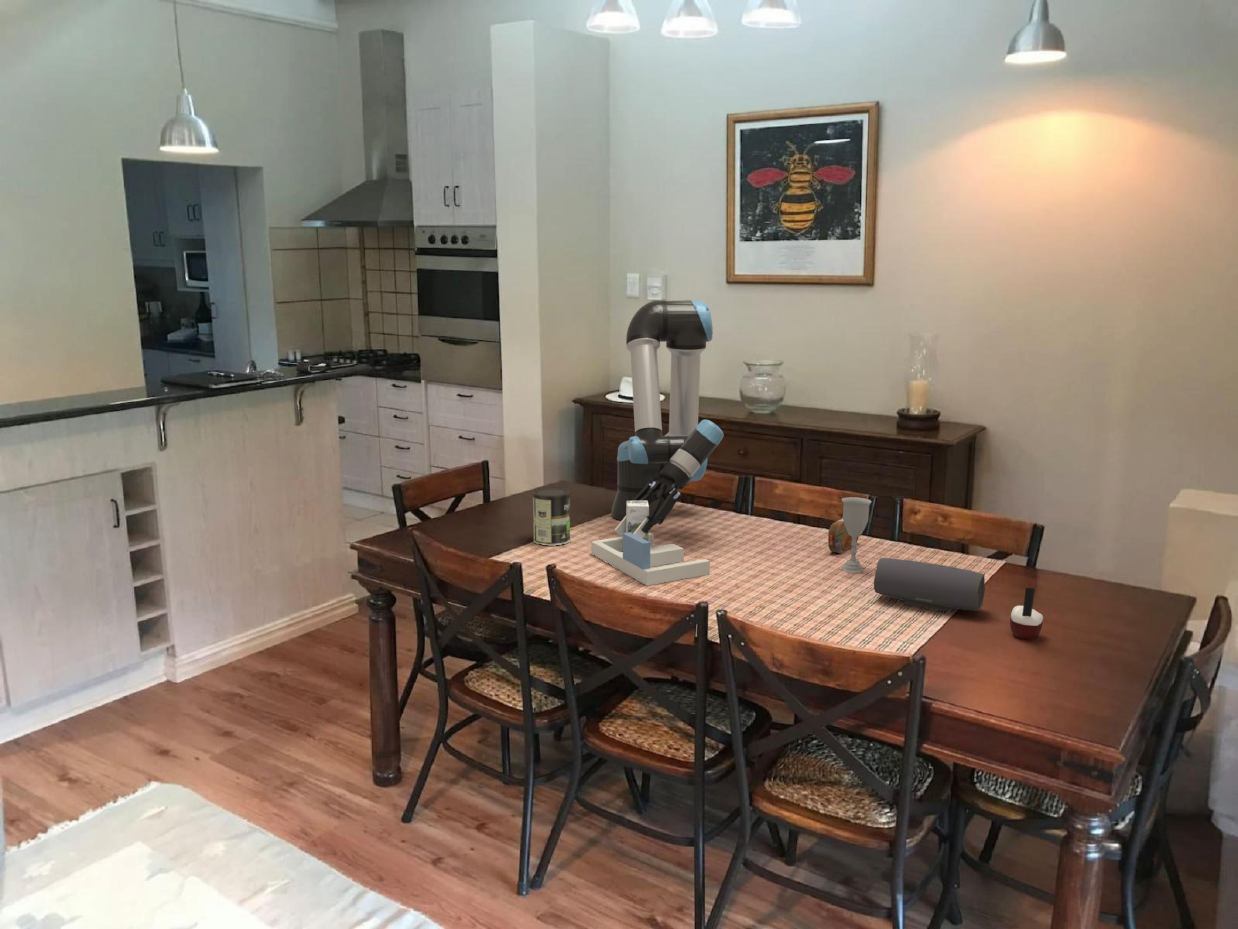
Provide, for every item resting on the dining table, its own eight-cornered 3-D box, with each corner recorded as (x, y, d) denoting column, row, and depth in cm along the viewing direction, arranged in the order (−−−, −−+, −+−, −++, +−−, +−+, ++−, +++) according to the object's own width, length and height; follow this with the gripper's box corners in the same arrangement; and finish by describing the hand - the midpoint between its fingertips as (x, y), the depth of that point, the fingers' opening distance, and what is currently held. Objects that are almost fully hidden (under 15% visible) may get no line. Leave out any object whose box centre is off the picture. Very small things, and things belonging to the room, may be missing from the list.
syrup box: (647, 552, 263) (647, 499, 260) (648, 559, 258) (649, 505, 255) (625, 552, 263) (626, 499, 260) (626, 559, 257) (627, 505, 254)
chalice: (834, 571, 248) (838, 501, 244) (842, 564, 254) (845, 496, 250) (863, 575, 245) (867, 505, 241) (870, 568, 251) (874, 499, 247)
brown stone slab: (836, 557, 260) (837, 526, 259) (825, 554, 262) (826, 524, 260) (859, 544, 272) (861, 514, 270) (849, 542, 274) (850, 512, 272)
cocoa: (1017, 629, 212) (1021, 574, 210) (1047, 635, 207) (1052, 580, 206) (1000, 639, 205) (1004, 583, 203) (1031, 646, 201) (1035, 589, 199)
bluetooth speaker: (983, 609, 222) (987, 566, 220) (975, 622, 215) (979, 578, 213) (883, 591, 234) (885, 551, 232) (871, 603, 226) (874, 561, 224)
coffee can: (571, 536, 278) (571, 487, 275) (569, 546, 268) (568, 496, 265) (535, 535, 278) (534, 487, 276) (531, 546, 268) (530, 495, 265)
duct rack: (591, 554, 262) (591, 517, 259) (649, 544, 270) (650, 509, 268) (647, 585, 237) (647, 545, 235) (709, 574, 245) (710, 535, 243)
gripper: (709, 486, 255) (654, 555, 251) (667, 471, 272) (615, 535, 268) (692, 468, 251) (636, 538, 247) (651, 454, 269) (598, 519, 264)
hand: (625, 537), depth 258 cm, fingers closed on syrup box, 7 cm apart
